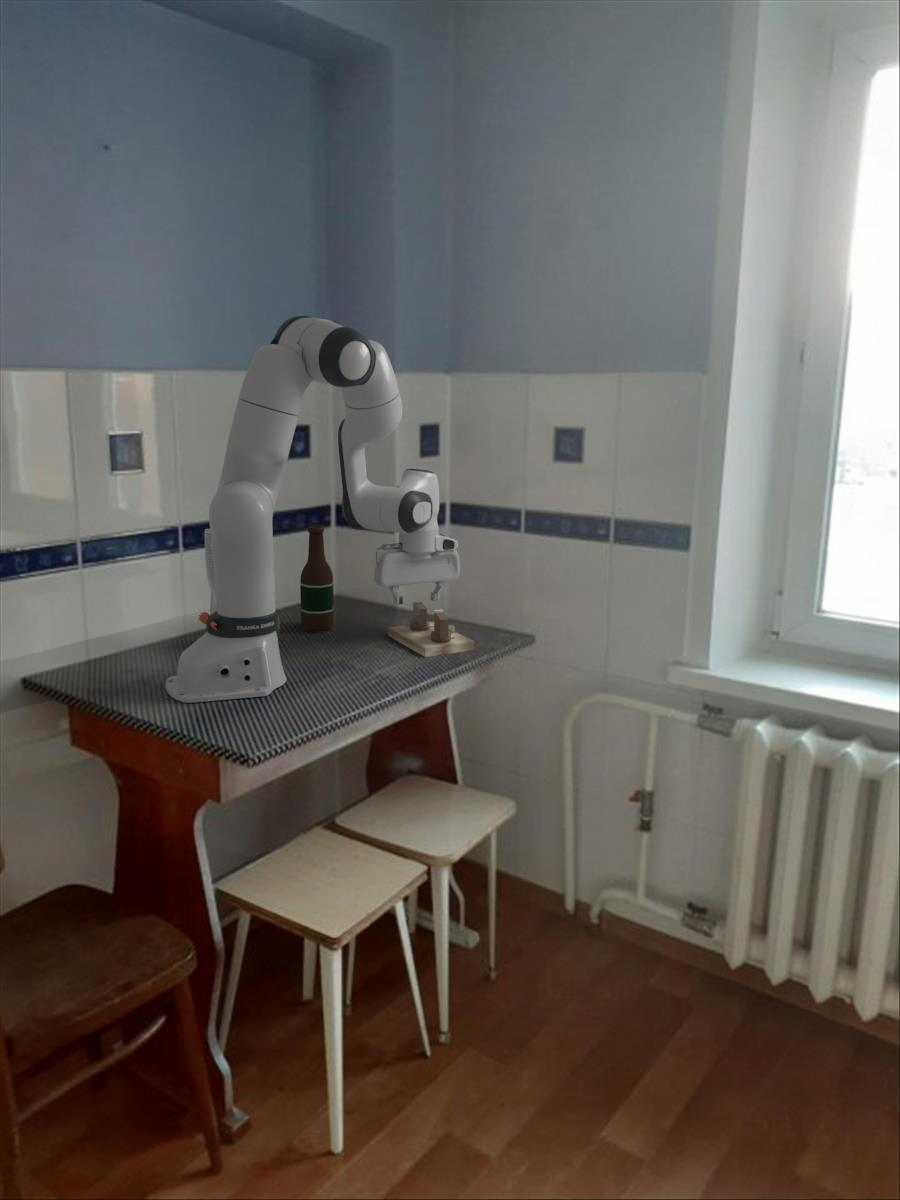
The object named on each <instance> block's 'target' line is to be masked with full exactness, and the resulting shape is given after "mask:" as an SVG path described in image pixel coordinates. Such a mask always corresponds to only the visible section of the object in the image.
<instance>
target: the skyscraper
mask: <svg viewBox="0 0 900 1200" xmlns="http://www.w3.org/2000/svg"><path fill="white" fill-rule="evenodd" d="M204 556H205V568H206V576H207V581H208V586H209V589H210V601H209V606H210V607H209V615H210V616H211V615H212V614H213V613H214V612H215V611H216V590H215V570H214V562H213V554H212V545H211V534H210V528H205V529H204Z"/></svg>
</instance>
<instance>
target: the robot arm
mask: <svg viewBox="0 0 900 1200" xmlns="http://www.w3.org/2000/svg"><path fill="white" fill-rule="evenodd" d="M242 381H243V382H242V385H241V387H240V392H239V395H238V399H237V402H236V403H237V404H236V407H235V411H234V415H233V419H232V423H231V427H230V432H229V435H228V439H227V446H226V451H225V455H224V459H223V465H222V470H221V475H220V477H219V478H220V479H219V481H218V482H219V483H218V488H217V490H216V493H215V495H214V496H213V498H212V500H211V501H210V504H209V509H208V520H209V529H210V534H211V545H212V554H213V562H214V570H215V590H216V611H215V612H214V613H213V614H212V615H211V616H210V613H208V612H206V611H202V612H200V614H199V615H198V616H199V617H198V620H199V621H200V622H201V623H202V624H203V625H205V626H206V632H205V633H203V635H201V637H199V638H198V639H197V640H195V641H194V642H193V643H192V644H191V645H189V646H188V647H187V648H186V649H185V650H184V651H182V653H181V654H179V655H180V656H179V657H178V662H177V668H176V675H172V676H169V677H168V678H167V679H166V680H165V686H164V687H165V688H164V689H165V692H166V693H167V694H168V695H169V696H170V697H171V698H173V699H174V700H176V701H178V702H182V703H187V704H191V703H202V702H215V701H225V700H227V701H228V700H236V699H237V700H238V699H247V698H257V697H267V696H269V695H270V694H271V693H272V692H273V691H274V690H275V689H277V688H279V687H281V686H283V685H284V684H285V683H286V682H287V676H286V673H285V671H284V667H283V663H282V658H281V653H280V646H279V640H278V638H279V636H280V618H279V610H278V608H277V606H276V605H277V604H276V603H277V602H276V601H277V600H276V571H275V570H276V569H275V555H274V552H275V551H274V535H273V534H274V533H273V532H274V530H273V518H274V513H275V512H274V511H275V507H276V504H277V501H278V496H279V491H280V489H281V485H282V481H283V477H284V472H285V469H286V466H287V462H288V459H289V455H290V451H291V447H292V444H293V439H294V435H295V431H296V427H297V424H298V421H299V417H300V412H301V408H302V405H303V403H302V402H303V397H304V394H305V392H306V390H307V389H308V387H309V386H310V384H311V383H312V382H316V383H317V382H318V383H321V384H327V385H332V386H334V387H335V388H336V387H338V388H341V393H342V394H341V395H342V398H343V402H344V408H345V418H343V420H342V421H341V422H340V424H339V427H338V432H337V442H338V444H337V445H338V455H339V456H338V458H339V465H340V474H341V475H340V476H341V487H342V497H341V512H342V515H343V517H344V519H345V521H346V523H347V524H348V525H349V526H350V527H351V528H352V529H353V530H356V531H361V530H362V531H378V532H385V533H386V532H387V533H397V534H398V542H397V543H396V542H395V543H389V544H388V543H384V544H382V545H381V546H379V547H378V548H377V549H376V551H375V561H376V562H375V568H374V575H373V576H374V582H375V583H376V584H377V585H378V586H380V587H384V588H385V587H387V588H388V589H389V592H391V595H392V596H393V604H394V605H396V606H398V605H399V606H400V605H403V603H404V597H403V596H402V595H400V594H399V593H398V591H399V590H400V586H404V585H405V586H407V585H416V584H417V585H419V584H426V583H427V584H428V583H429V584H430V583H434V584H435V585H436V586H435V587H434V590H433V591H431V592H430V600H431V601H433V602H435V601H436V602H437V601H440V598H441V593H442V592H443V589H444V587H445V585H446V582H448V581H456V580H458V578H459V576H460V574H461V573H460V572H461V571H460V570H461V564H460V561H461V560H460V555H459V552H458V551H457V549H458V547H459V541H458V540H456V539H453V538H452V537H449V536H446V535H444V534H441V533H439V532H440V531H439V527H440V526H439V524H438V516H439V511H440V485H439V479H438V475H437V473H435V472H433V471H431V470H428V469H418V468H407V469H404V470H403V473H402V476H401V481H400V482H399V483H398V484H396V485H395V486H387V485H386V486H385V485H377V484H374V483H372V482H371V481H370V480H369V479H368V476H367V475H368V474H367V461H366V451H365V450H366V447H367V446H370V445H372V444H377V443H378V442H382V441H383V440H384V439H386V438H388V437H390V435H391V434H393V433H394V432H395V431H396V429H397V428H398V427H399V425H400V423H401V421H402V418H403V403H402V397H401V392H400V388H399V385H398V384H399V383H398V381H397V377H396V374H395V371H394V368H393V365H392V362H391V359H390V357H389V355H388V353H387V351H386V349H385V348H384V346H383V345H382V344H381V343H380V342H377V341H375V340H371V339H368V338H367V337H365V336H364V335H363V334H362V333H361V332H359V331H358V330H356V329H355V328H352V327H349V326H344V325H342V324H339V323H336V322H334V321H332V320H330V319H325V318H319V317H312V316H309V315H298V316H297V315H296V316H294V317H291V318H288V319H286V320H285V321H284V322H283V323H282V324H280V326H279V328H277V331H276V332H275V335H274V337H273V338H272V340H271V341H270V343H269V344H266V345H263V346H261V347H259V348H258V349H257V350H256V352H255V353H254V355H253V357H252V359H251V360H250V364H249V366H248V368H247V371H246V374H245V377H244V379H243V380H242Z"/></svg>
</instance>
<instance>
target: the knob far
mask: <svg viewBox="0 0 900 1200" xmlns="http://www.w3.org/2000/svg"><path fill="white" fill-rule="evenodd" d="M429 622H430V621H429V620H428V608H427V607H426V605H424V603H423V600H422V599H413V600H412V620H410V621H409V625H410V629H412V630H416V631H424V630H428V629H429Z"/></svg>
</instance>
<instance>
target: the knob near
mask: <svg viewBox="0 0 900 1200" xmlns="http://www.w3.org/2000/svg"><path fill="white" fill-rule="evenodd" d="M444 612H445V610H444V609H434V610H433V617H434V618H433V621H434V630H435V631H432V632H431V640H432V641H434V642H448V641H451V632H450V631H448V627H449V625H450V624H449V618H448V617H447V615H446V614H445V613H444Z"/></svg>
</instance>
